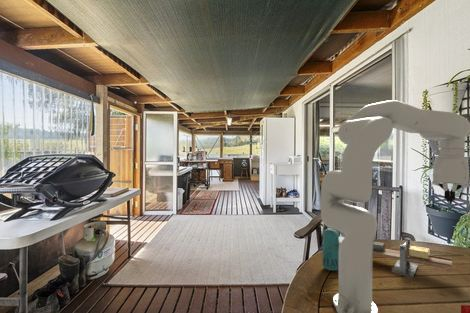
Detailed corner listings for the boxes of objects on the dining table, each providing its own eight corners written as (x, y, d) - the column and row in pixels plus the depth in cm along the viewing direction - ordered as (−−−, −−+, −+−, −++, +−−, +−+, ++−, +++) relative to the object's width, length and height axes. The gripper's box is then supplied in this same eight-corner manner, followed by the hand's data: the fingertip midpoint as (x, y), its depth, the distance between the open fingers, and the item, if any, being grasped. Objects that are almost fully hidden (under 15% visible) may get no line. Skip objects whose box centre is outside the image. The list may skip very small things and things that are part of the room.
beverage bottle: (320, 272, 98) (321, 223, 98) (323, 265, 104) (323, 218, 104) (338, 275, 95) (338, 225, 95) (339, 268, 101) (340, 220, 101)
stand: (412, 278, 93) (413, 249, 93) (391, 272, 98) (392, 244, 98) (417, 266, 103) (418, 239, 103) (398, 261, 108) (398, 235, 107)
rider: (428, 261, 93) (427, 252, 93) (409, 257, 97) (408, 249, 98) (430, 257, 97) (429, 248, 97) (411, 254, 101) (410, 245, 101)
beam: (451, 269, 88) (450, 255, 88) (366, 253, 107) (365, 242, 107) (452, 263, 93) (451, 250, 93) (371, 248, 112) (370, 238, 113)
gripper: (424, 153, 95) (423, 199, 96) (478, 153, 85) (477, 206, 85) (427, 153, 101) (426, 197, 101) (478, 153, 90) (477, 203, 91)
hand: (449, 201), depth 93 cm, fingers closed
